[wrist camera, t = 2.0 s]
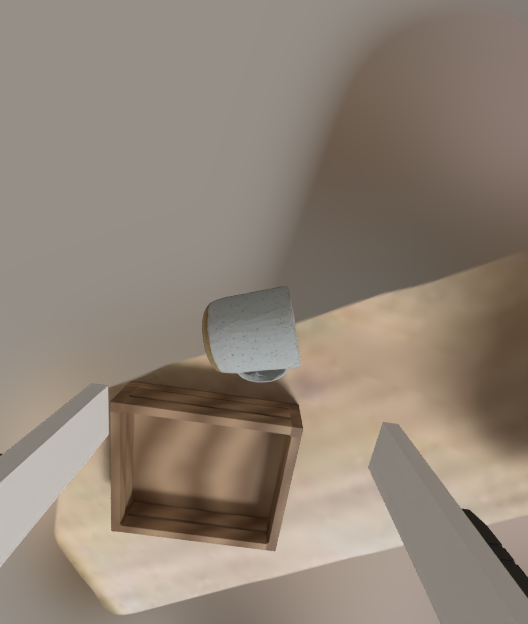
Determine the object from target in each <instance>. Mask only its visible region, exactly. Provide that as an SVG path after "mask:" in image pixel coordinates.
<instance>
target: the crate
mask: <svg viewBox="0 0 528 624" xmlns="http://www.w3.org/2000/svg"><path fill="white" fill-rule="evenodd" d="M302 431H303V425H302V420H301V415H300V410H299V405H296V404H289V403H282V402H275V401H268V400H261V399H253V398H246V397H239V396H232V395H225V394H218V393H211V392H204V391H197V390H190V389H183V388H175V387H168V386H161V385H154V384H147V383H140V382H133V381H131V382H130V383H129V384H128V385H127V386H126V387H125V388H124V389H123V390H122V391H121V392H120V393H119V394H117V395H116V396H115V397H114V398H113V399H112V400H111V401H110V444H111V531H118V532H126V533H134V534H142V535H150V536H158V537H166V538H174V539H181V540H189V541H197V542H205V543H213V544H221V545H229V546H237V547H245V548H253V549H261V550H269V551H275V550H276V546H277V541H278V537H279V533H280V528H281V524H282V519H283V515H284V511H285V506H286V502H287V497H288V493H289V489H290V484H291V480H292V475H293V471H294V467H295V462H296V458H297V453H298V449H299V445H300V440H301V436H302Z"/></svg>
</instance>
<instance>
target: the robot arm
mask: <svg viewBox="0 0 528 624" xmlns="http://www.w3.org/2000/svg"><path fill="white" fill-rule="evenodd" d="M108 435H109V411H108V385H101V384H93V383H91V384H90V385H89V386H87V387H86V388H85V389H84V390H82V391H81V392H80V393H79V394H77V395H76V396H75V397H74V398H72V399H71V400H70V401H69V402H67V403H66V404H65V405H64V406H62V407H61V408H60V409H59V410H57V411H56V412H55V413H54V414H52V415H51V416H50V417H49V418H47V419H46V420H45V421H44V422H42V423H41V424H40V425H39V426H37V427H36V428H35V429H34V430H32V431H31V432H30V433H29V434H27V435H26V436H25V437H24V438H22V439H21V440H20V441H19V442H18V443H16V444H15V445H14V446H12V447H11V448H10V449H9V450H7V451H6V452H5V453H4V454H0V567H1V565H2V564H3V563H4V562H5V561H6V559H7V558H8V557H9V556H10V554H11V553H12V552H13V551H14V549H15V548H16V547H17V546H18V545H19V543H20V542H21V541H22V540H23V539H24V537H25V536H26V535H27V534H28V532H29V531H30V530H31V529H32V528H33V526H34V525H35V524H36V523H37V522H38V520H39V519H40V518H41V517H42V516H43V514H44V513H45V512H46V511H47V509H48V508H49V507H50V505H51V504H52V503H53V502H54V501H55V500H56V498H57V497H58V496H59V495H60V494H61V492H62V491H63V490H64V489H65V487H66V486H67V485H68V484H69V483H70V481H71V480H72V479H73V478H74V476H75V475H76V474H77V473H78V472H79V470H80V469H81V468H82V467H83V466H84V464H85V463H86V462H87V461H88V459H89V458H90V457H91V456H92V455H93V453H94V452H95V451H96V450H97V448H98V447H99V446H100V445H101V444H102V442H103V441H104V440H105V439H106V437H107V436H108ZM368 468H369V470H370V472H371V474H372V477H373V479H374V481H375V483H376V485H377V487H378V489H379V492H380V494H381V496H382V498H383V500H384V502H385V505H386V507H387V509H388V511H389V513H390V515H391V517H392V520H393V522H394V524H395V526H396V528H397V530H398V533H399V535H400V537H401V539H402V541H403V543H404V546H405V548H406V550H407V552H408V554H409V556H410V558H411V560H412V563H413V565H414V567H415V569H416V571H417V574H418V576H419V578H420V580H421V582H422V584H423V586H424V589H425V591H426V593H427V595H428V597H429V599H430V602H431V603H432V606H433V608H434V610H435V612H436V614H437V617H438V619H439V621H440V623H441V624H528V577H527V576H526V575H525V573H524V572H523V571H522V570H521V568H520V567H519V566H518V565H516V564H515V562H514V559H513V558H512V557H511V556H510V554H509V553H508V552H507V551H506V549H505V548H503V547H502V544H501V543H500V542H499V540H498V539H497V538H496V537H495V535H494V534H493V533H492V532H491V530H490V529H489V528H488V526H487V525H486V524H484V523H483V522H482V521H481V520H480V519H479V518H478V517H477V516H476V515H475V514H474V513H472V512H471V511H470V510H468V509H461V508H460V506H459V505H458V504H457V502H456V501H455V500H454V498H453V497H452V496H451V494H450V493H449V492H448V490H447V489H446V488H445V486H444V485H443V484H442V482H441V481H440V480H439V478H438V477H437V475H436V474H435V473H434V471H433V470H432V469H431V467H430V466H429V465H428V463H427V462H426V461H425V459H424V458H423V457H422V455H421V454H420V453H419V451H418V450H417V449H416V447H415V446H414V445H413V443H412V442H411V440H410V439H409V438H408V436H407V435H406V434H405V432H404V431H403V430H402V428H401V427H400V426H399V424H394V423H386V422H383V424H382V427H381V430H380V433H379V436H378V439H377V442H376V445H375V448H374V451H373V454H372V457H371V460H370V463H369V466H368Z"/></svg>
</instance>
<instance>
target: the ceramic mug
mask: <svg viewBox="0 0 528 624" xmlns="http://www.w3.org/2000/svg"><path fill="white" fill-rule="evenodd" d="M202 333H203V341H204V347H205V351H206V354H207V357H208V359H209V361H210V363H211V365H212V366H213V367H214V368H215V369H216V370H217V371H219V372H223V373H237V374H239V375H240V376H241V377H242V378H244V379H246V380H248V381H252V382H271V381H275V380H277V379H280V378H281V377H283V376H284V375H285V374H286V372H287V371H288V369H289V368H298V367H300V366H301V360H300V354H299V347H298V340H297V334H296V328H295V320H294V313H293V308H292V303H291V296H290V291H289V287H288V286H283V287H277V288H273V289H267V290H262V291H256V292H251V293H247V294H241V295H235V296H230V297H225V298H221V299H219V300H216V301H213V302H212V303H210V304H209V305H208V306H207V308H206V310H205V312H204V315H203V322H202Z"/></svg>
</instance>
